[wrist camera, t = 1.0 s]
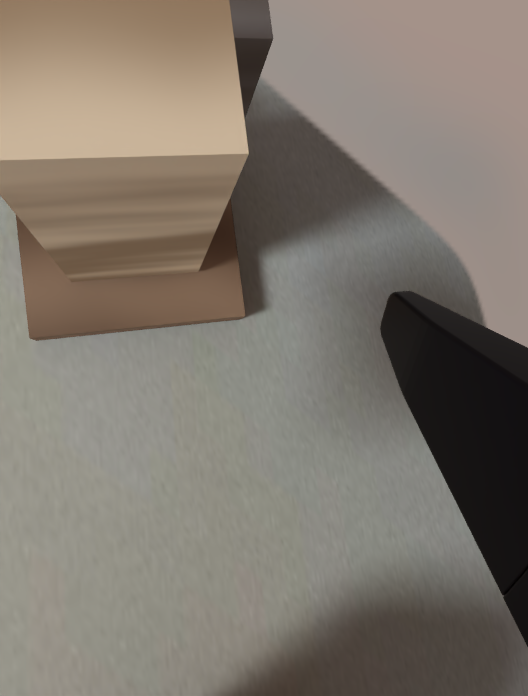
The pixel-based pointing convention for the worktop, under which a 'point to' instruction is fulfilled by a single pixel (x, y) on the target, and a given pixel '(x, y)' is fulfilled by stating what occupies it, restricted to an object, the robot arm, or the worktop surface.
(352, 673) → the worktop surface
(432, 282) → the worktop surface
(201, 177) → the curved wooden panel
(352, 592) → the worktop surface
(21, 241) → the wooden phone stand
